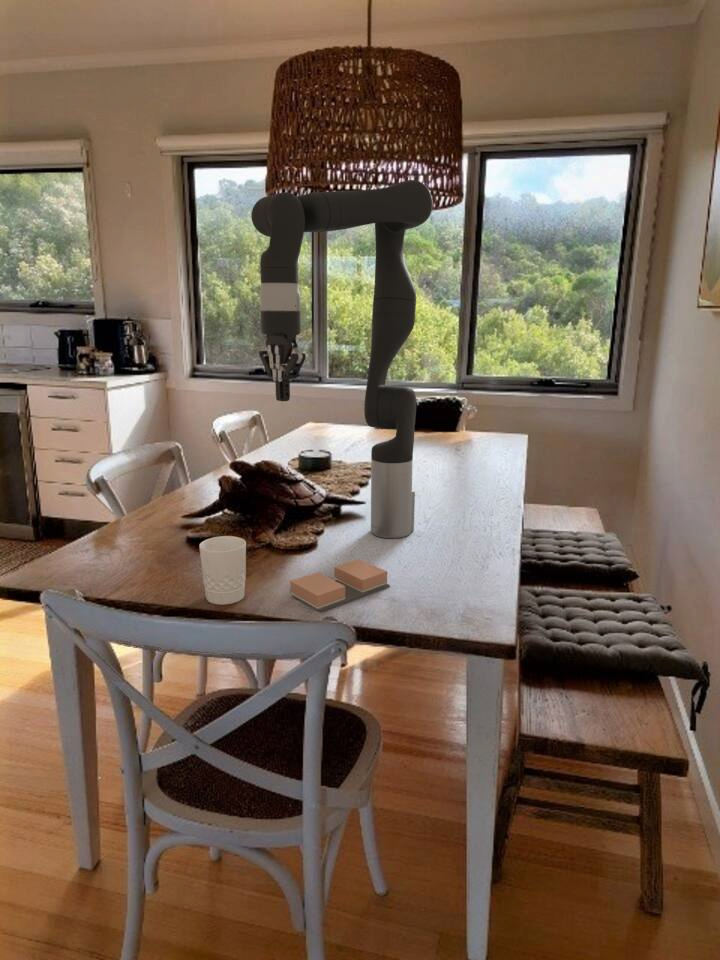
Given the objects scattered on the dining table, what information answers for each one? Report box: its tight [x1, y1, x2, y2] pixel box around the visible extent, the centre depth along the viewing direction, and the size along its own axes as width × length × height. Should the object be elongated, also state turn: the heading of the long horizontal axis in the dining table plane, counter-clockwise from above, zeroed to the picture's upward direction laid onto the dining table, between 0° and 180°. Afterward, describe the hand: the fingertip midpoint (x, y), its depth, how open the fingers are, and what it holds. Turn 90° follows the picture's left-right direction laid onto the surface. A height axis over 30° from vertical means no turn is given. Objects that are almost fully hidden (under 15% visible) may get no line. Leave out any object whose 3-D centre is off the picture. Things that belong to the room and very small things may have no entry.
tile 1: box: [289, 572, 345, 609], centre depth 112 cm, size 6×2×8 cm
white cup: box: [199, 535, 247, 606], centre depth 111 cm, size 8×8×10 cm
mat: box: [292, 579, 391, 614], centre depth 115 cm, size 16×8×1 cm, turn 131°
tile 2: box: [333, 558, 388, 593], centre depth 118 cm, size 6×2×8 cm
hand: (282, 400), depth 124 cm, fingers closed
